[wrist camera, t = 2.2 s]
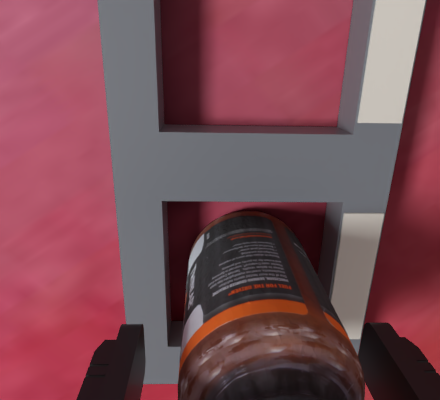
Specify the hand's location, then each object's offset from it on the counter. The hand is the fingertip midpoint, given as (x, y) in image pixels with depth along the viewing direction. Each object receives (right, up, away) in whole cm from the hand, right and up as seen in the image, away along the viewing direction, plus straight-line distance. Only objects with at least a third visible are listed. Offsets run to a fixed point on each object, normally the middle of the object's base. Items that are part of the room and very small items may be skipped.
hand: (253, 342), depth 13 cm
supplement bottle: (0, +2, +6) cm, 7 cm away
